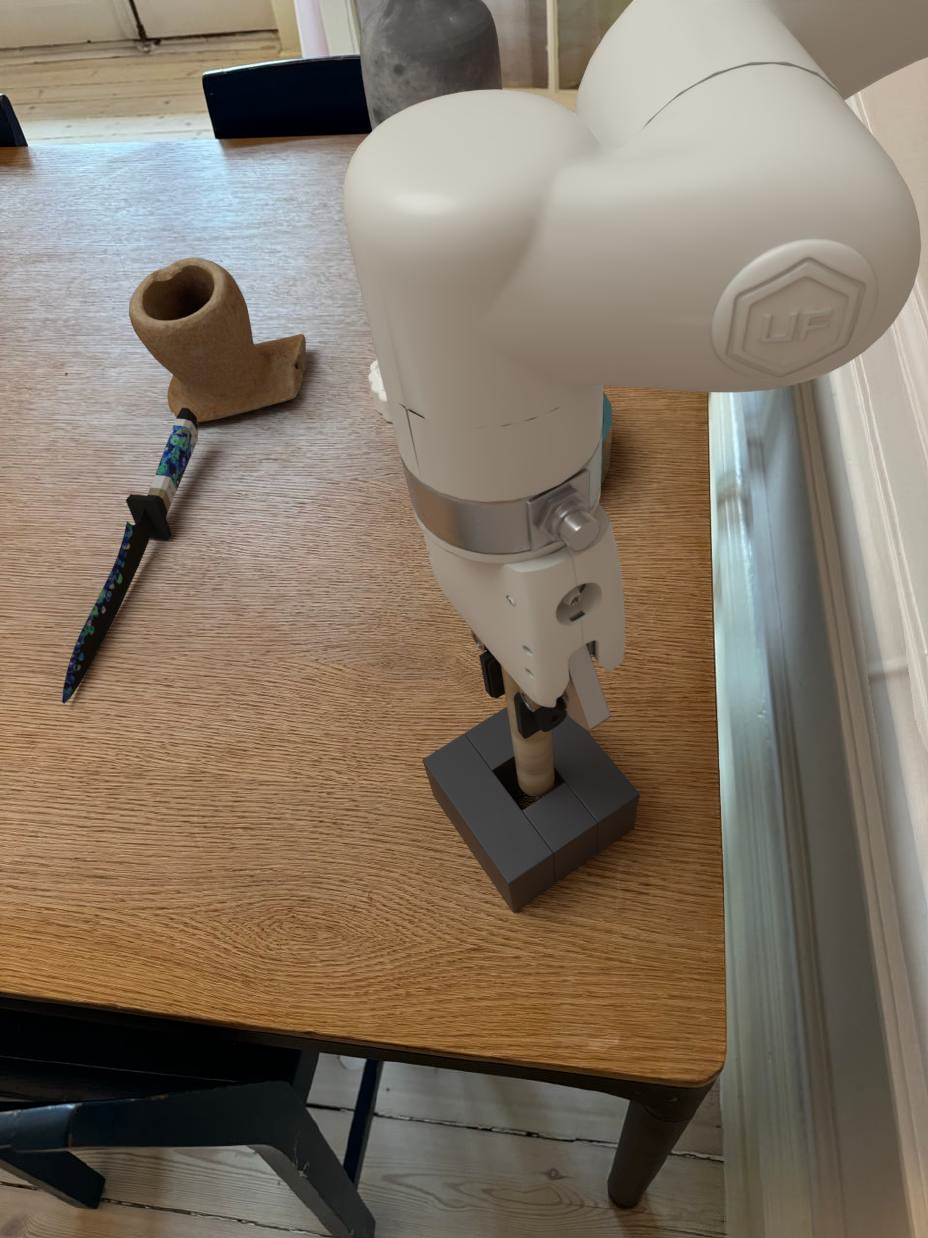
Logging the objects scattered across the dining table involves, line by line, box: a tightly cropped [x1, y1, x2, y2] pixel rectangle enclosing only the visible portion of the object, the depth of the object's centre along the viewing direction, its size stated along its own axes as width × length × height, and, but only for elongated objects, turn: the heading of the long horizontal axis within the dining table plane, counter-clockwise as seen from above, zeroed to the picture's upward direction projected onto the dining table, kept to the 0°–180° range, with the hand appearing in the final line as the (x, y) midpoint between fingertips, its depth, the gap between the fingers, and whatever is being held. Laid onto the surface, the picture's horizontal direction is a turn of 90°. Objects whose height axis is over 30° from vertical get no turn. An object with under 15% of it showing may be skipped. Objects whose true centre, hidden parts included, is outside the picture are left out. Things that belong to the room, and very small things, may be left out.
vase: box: [359, 0, 503, 132], centre depth 98 cm, size 16×16×30 cm
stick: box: [501, 665, 555, 798], centre depth 50 cm, size 2×2×16 cm
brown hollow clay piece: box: [128, 257, 307, 423], centre depth 84 cm, size 15×12×15 cm
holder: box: [422, 706, 641, 914], centre depth 58 cm, size 10×10×6 cm
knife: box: [61, 408, 199, 705], centre depth 76 cm, size 30×3×4 cm, turn 165°
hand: (527, 700), depth 47 cm, fingers closed on stick, 2 cm apart
